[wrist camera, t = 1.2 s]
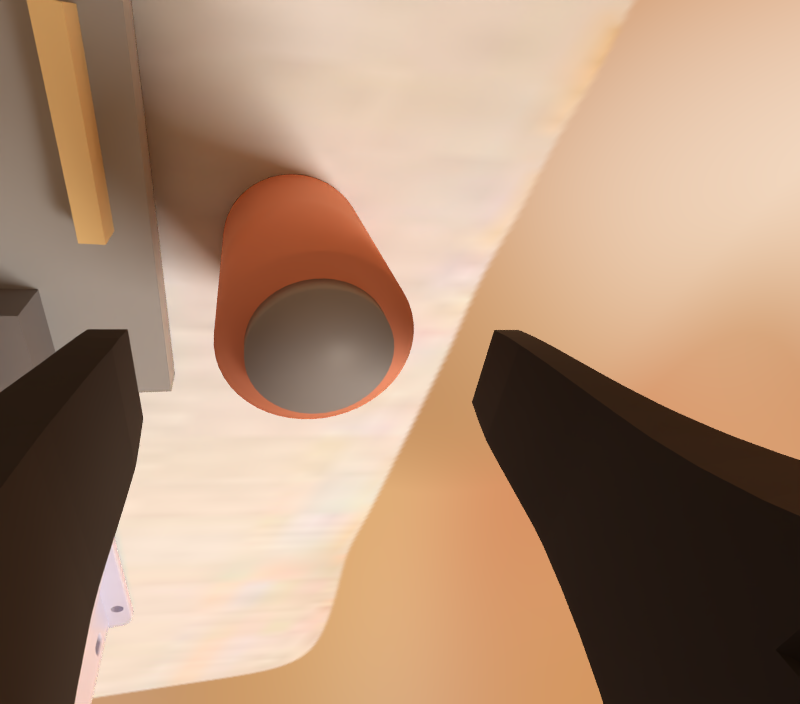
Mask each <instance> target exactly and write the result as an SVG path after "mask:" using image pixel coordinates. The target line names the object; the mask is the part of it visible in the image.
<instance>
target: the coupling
mask: <svg viewBox="0 0 800 704" xmlns="http://www.w3.org/2000/svg"><path fill="white" fill-rule="evenodd" d="M413 334H414V324H413V317H412V311H411V308H410V305H409V302H408V300H407V298H406V296H405V294H404V292H403V291H402V289H401V287H400V286H399V284H398V282H397V281H396V279H395V277H394V276H393V274H392V272H391V271H390V269H389V267H388V266H387V264H386V262H385V261H384V259H383V257H382V256H381V254H380V252H379V251H378V249H377V247H376V246H375V244H374V242H373V241H372V239H371V237H370V236H369V234H368V232H367V231H366V229H365V227H364V226H363V224H362V222H361V221H360V219H359V217H358V216H357V214H356V212H355V211H354V209H353V207H352V206H351V205H350V203H349V202H348V200H347V199H346V198H345V197H344V196H343V195H342V194H341V193H340V192H339V191H337V190H336V189H335V188H333V187H332V186H330V185H329V184H327V183H325V182H323V181H321V180H319V179H316V178H313V177H309V176H304V175H295V174H287V175H278V176H274V177H270V178H267V179H265V180H262V181H260V182H258V183H256V184H254V185H253V186H251V187H250V188H249V189H247V190H246V191H245V192H244V193H243V194H242V195H241V196H240V197H239V198H238V199H237V200H236V202H235V203H234V205H233V206H232V208H231V210H230V212H229V214H228V216H227V219H226V222H225V227H224V233H223V244H222V254H221V265H220V276H219V286H218V297H217V308H216V318H215V329H214V350H215V357H216V360H217V363H218V366H219V368H220V370H221V372H222V374H223V376H224V378H225V379H226V381H227V382H228V384H229V385H230V386H231V387H232V389H233V390H234V391H235V392H236V393H237V394H238V395H239V396H241V397H242V398H243V399H245V400H246V401H247V402H249V403H250V404H252V405H254V406H255V407H257V408H259V409H262V410H264V411H266V412H269V413H272V414H275V415H278V416H283V417H288V418H297V419H317V418H326V417H331V416H336V415H339V414H342V413H346V412H349V411H351V410H353V409H356V408H358V407H360V406H362V405H364V404H366V403H367V402H369V401H371V400H372V399H373V398H375V397H376V396H378V395H379V394H380V393H381V392H383V391H384V390H385V389H386V388H387V387H388V386H389V385H390V384H391V383H392V382H393V381H394V379H395V378H396V377H397V376H398V374H399V373H400V371H401V370H402V368H403V366H404V365H405V363H406V360H407V358H408V356H409V353H410V350H411V346H412V342H413Z"/></svg>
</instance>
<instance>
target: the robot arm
mask: <svg viewBox="0 0 800 704" xmlns="http://www.w3.org/2000/svg"><path fill="white" fill-rule="evenodd" d="M472 403H473V406H474V409H475V412H476V415H477V417H478V420H479V423H480V426H481V428H482V431H483V433H484V436H485V438H486V441H487V443H488V444H489V446H490V448H491V450H492V452H493V454H494V456H495V458H496V459H497V461H498V463H499V465H500V467H501V469H502V470H503V472H504V473H505V476H506V477H507V479H508V481H509V483H510V485H511V486H512V488H513V490H514V492H515V494H516V495H517V497H518V499H519V501H520V503H521V504H522V506H523V508H524V510H525V512H526V513H527V515H528V517H529V519H530V521H531V522H532V524H533V526H534V528H535V530H536V532H537V534H538V536H539V538H540V540H541V542H542V544H543V546H544V548H545V551H546V553H547V555H548V558H549V560H550V563H551V565H552V567H553V570H554V572H555V574H556V577H557V579H558V581H559V584H560V586H561V588H562V591H563V593H564V596H565V599H566V601H567V604H568V606H569V609H570V611H571V614H572V616H573V619H574V622H575V624H576V627H577V629H578V632H579V634H580V637H581V640H582V643H583V646H584V648H585V651H586V654H587V657H588V660H589V662H590V665H591V668H592V671H593V674H594V677H595V680H596V683H597V685H598V688H599V691H600V694H601V697H602V700H603V704H800V460H798V459H794V458H792V457H789V456H786V455H782V454H780V453H777V452H774V451H771V450H769V449H766V448H763V447H760V446H758V445H755V444H752V443H749V442H747V441H744V440H741V439H739V438H736V437H733V436H731V435H728V434H726V433H723V432H721V431H719V430H716V429H714V428H711V427H709V426H707V425H704V424H702V423H700V422H697V421H695V420H693V419H691V418H688V417H686V416H684V415H681V414H679V413H677V412H675V411H673V410H671V409H669V408H666V407H664V406H662V405H660V404H658V403H656V402H654V401H652V400H650V399H648V398H646V397H644V396H642V395H640V394H638V393H636V392H634V391H632V390H631V389H629V388H627V387H625V386H623V385H621V384H619V383H617V382H616V381H613V380H612V379H610V378H608V377H606V376H604V375H603V374H601V373H599V372H597V371H596V370H594V369H592V368H590V367H588V366H587V365H585V364H583V363H581V362H579V361H578V360H576V359H574V358H572V357H570V356H569V355H567V354H565V353H563V352H561V351H560V350H558V349H556V348H554V347H553V346H551V345H549V344H547V343H545V342H543V341H541V340H539V339H537V338H535V337H533V336H531V335H529V334H527V333H524V332H522V331H519V330H494V333H493V336H492V340H491V343H490V346H489V349H488V352H487V356H486V359H485V362H484V365H483V369H482V372H481V375H480V379H479V382H478V385H477V388H476V391H475V395H474V398H473V401H472ZM142 423H143V415H142V409H141V403H140V397H139V391H138V386H137V380H136V374H135V368H134V362H133V357H132V351H131V345H130V339H129V333H128V329H87V330H86V331H84V332H83V333H81V334H80V335H78V336H77V337H75V338H74V339H73V340H71V341H70V342H68V343H67V344H66V345H64V346H63V347H62V348H60V349H59V350H58V351H56V352H55V353H54V354H52V355H51V356H50V357H48V358H47V359H45V360H44V361H43V362H41V363H40V364H39V365H37V366H36V367H35V368H33V369H32V370H30V371H29V372H28V373H26V374H25V375H23V376H22V377H21V378H19V379H18V380H17V381H15V382H14V383H12V384H11V385H10V386H8V387H7V388H5V389H4V390H3V391H1V392H0V704H91V702H92V698H93V693H94V689H95V685H96V680H97V676H98V671H99V667H100V662H101V658H102V653H103V649H104V644H105V640H106V635H107V631H108V628H110V627H116V626H122V625H126V624H128V623H129V622H131V621H132V618H133V612H134V611H133V607H132V603H131V600H130V596H129V592H128V588H127V584H126V580H125V576H124V573H123V569H122V565H121V561H120V557H119V553H118V549H117V545H116V542H115V538H114V536H115V533H116V530H117V527H118V523H119V520H120V517H121V514H122V511H123V507H124V504H125V501H126V497H127V494H128V491H129V487H130V484H131V481H132V477H133V474H134V470H135V467H136V461H137V455H138V449H139V443H140V436H141V429H142Z"/></svg>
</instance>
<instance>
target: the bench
mask: <svg viewBox="0 0 800 704" xmlns="http://www.w3.org/2000/svg"><path fill="white" fill-rule="evenodd" d="M87 329H128V333H129V339H130V345H131V351H132V357H133V362H134V368H135V374H136V380H137V386H138V391H139V392H163V391H171V390H172V385H173V380H174V375H175V372H174V364H173V355H172V347H171V338H170V330H169V321H168V312H167V304H166V295H165V287H164V278H163V270H162V261H161V252H160V244H159V235H158V227H157V218H156V210H155V201H154V192H153V184H152V175H151V167H150V158H149V150H148V141H147V133H146V124H145V115H144V107H143V98H142V90H141V81H140V73H139V64H138V55H137V47H136V38H135V30H134V21H133V13H132V4H131V0H0V392H1V391H3V390H4V389H5V388H7V387H8V386H10V385H11V384H12V383H14V382H15V381H17V380H18V379H19V378H21V377H22V376H23V375H25V374H26V373H28V372H29V371H30V370H32V369H33V368H35V367H36V366H37V365H39V364H40V363H41V362H43V361H44V360H45V359H47V358H48V357H50V356H51V355H52V354H54V353H55V352H56V351H58V350H59V349H60V348H62V347H63V346H64V345H66V344H67V343H68V342H70V341H71V340H73V339H74V338H75V337H77V336H78V335H80V334H81V333H83V332H84V331H86V330H87Z"/></svg>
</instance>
